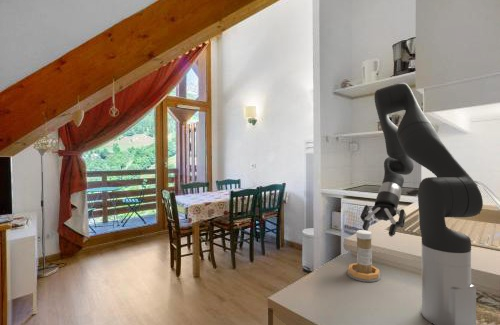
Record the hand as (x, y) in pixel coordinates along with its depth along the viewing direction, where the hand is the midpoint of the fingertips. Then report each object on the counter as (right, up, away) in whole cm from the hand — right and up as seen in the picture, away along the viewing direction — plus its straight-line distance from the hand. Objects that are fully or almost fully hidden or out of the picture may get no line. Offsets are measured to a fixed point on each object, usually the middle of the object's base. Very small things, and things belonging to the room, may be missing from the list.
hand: (377, 232), depth 92 cm
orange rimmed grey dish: (-8, -12, -7) cm, 16 cm away
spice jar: (-8, -11, -7) cm, 15 cm away
